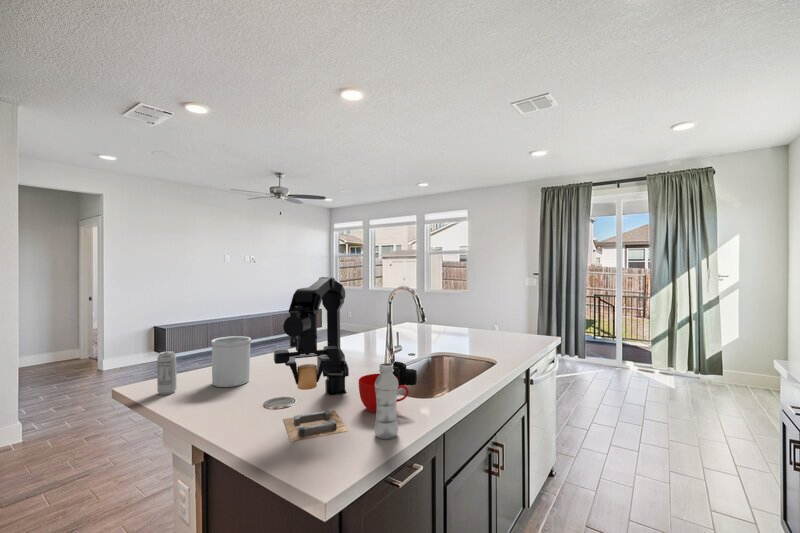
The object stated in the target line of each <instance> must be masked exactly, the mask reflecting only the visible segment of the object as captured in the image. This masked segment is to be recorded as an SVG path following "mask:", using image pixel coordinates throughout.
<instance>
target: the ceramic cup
mask: <svg viewBox="0 0 800 533" xmlns="http://www.w3.org/2000/svg"><path fill="white" fill-rule="evenodd" d="M379 375H380V373H371V374H366V375H363V376H361V377H360V378H359V379H358V391H359V397H360V400H361V402H362V405H363V406H364V407H365V408H366V409H367V410H368V412H371V413H374V414H376V411H377V403H376V392H375V381H376V379H377V377H378V376H379ZM395 377H396V376H395ZM396 379H397V380H398V378H397V377H396ZM399 389H404V390H405V395H404V396H402V397H401V398H397V401H396V403H398V402H402V401H404V400H405V399H406V398H407V397H408V395H409V387H407V385H400V386H398V390H399Z"/></svg>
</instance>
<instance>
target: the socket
mask: <svg viewBox="0 0 800 533" xmlns="http://www.w3.org/2000/svg"><path fill="white" fill-rule="evenodd" d="M283 422H284V426H285V429H286V433H287V436H288V438H289V442H290V443H292V442H297V441H303V440H308V439H315V438H318V437H319V438H320V437H323V436H329V435H335V434H340V433H341V434H342V433H346V431H347V432H349V429H348V427H347V426H346V425H345V423H344V422H343V420H342V418H341V417H340V416H339V414H338V413H337V412H336V410H331V411H329V410H323V411H317V412H309V413H305V414H304V413H303V414H298V415H294V416H292V417H287V418H283Z"/></svg>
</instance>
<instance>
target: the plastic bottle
mask: <svg viewBox="0 0 800 533" xmlns="http://www.w3.org/2000/svg"><path fill="white" fill-rule="evenodd" d="M378 371H379V372H378V373H379V374H380V375H379V376H378V377H377V379H376V381H375V392H376V403H377V411H376V413H375V414H376V415H375V422H374V425H373V430H374V434H375V436H376V437H377V438H378V439H380V438H381V439H380V440H391V439H390V438H392V439H394V438H395V437H397V435H398V433H399V420H398V417H397V416H398V415H397V402H396V401H397V399H398V398H397V397H398V391H399V389H398V380H397V379H396V377H395V376H394V374H393V371H394V370H393V363H390V362H384V363H380V364H379V370H378ZM393 437H394V438H393Z"/></svg>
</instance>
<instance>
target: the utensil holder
mask: <svg viewBox="0 0 800 533" xmlns="http://www.w3.org/2000/svg"><path fill="white" fill-rule="evenodd" d="M251 342H252V338H251V337H249V336H243V335H242V336H239V335H238V336H237V335H234V336H225V337H224V336H223V337H217V338H214V339H212V340H211V341H210V343H211V377H212V379H211V380H212V382H211V383H212V385H213V386H214V387H216V388H217V387H218V388H231V387H232V388H233V387H239V386H241V385H244V384H246V383H248V382H249V381H250V370H251V369H250V368H251Z"/></svg>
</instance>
